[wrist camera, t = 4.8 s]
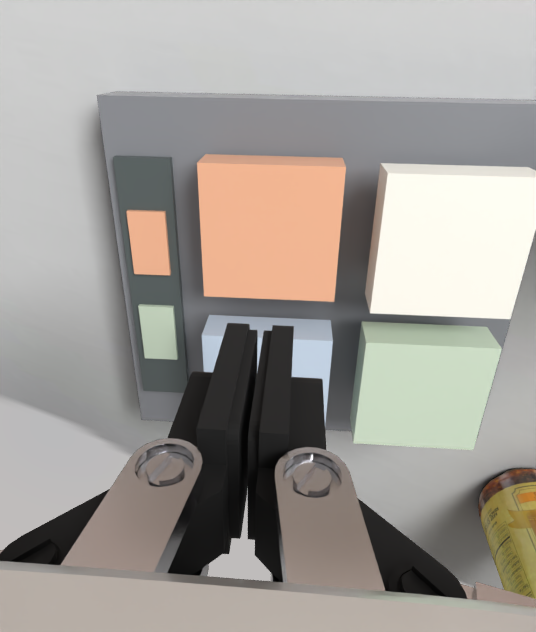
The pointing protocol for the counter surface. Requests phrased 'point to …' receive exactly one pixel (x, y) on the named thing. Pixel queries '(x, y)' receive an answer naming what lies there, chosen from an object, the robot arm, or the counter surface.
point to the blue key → (307, 344)
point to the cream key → (450, 239)
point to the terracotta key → (270, 225)
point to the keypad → (273, 140)
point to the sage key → (422, 384)
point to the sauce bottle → (512, 528)
